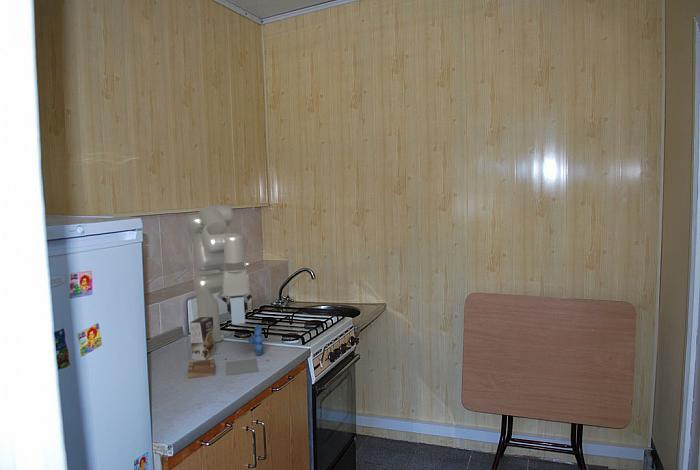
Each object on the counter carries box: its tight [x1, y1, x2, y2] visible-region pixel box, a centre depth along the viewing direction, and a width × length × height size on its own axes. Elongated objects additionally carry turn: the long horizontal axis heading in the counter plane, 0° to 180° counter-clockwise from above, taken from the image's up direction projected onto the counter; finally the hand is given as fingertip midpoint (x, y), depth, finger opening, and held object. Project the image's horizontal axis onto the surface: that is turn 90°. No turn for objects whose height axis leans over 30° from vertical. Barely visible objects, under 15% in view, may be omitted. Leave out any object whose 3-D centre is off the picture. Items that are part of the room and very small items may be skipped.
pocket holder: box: [187, 358, 216, 380], centre depth 185 cm, size 10×10×3 cm
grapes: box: [248, 324, 265, 356], centre depth 204 cm, size 12×7×12 cm, turn 12°
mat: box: [225, 357, 259, 377], centre depth 189 cm, size 14×12×1 cm
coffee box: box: [189, 317, 216, 361], centre depth 203 cm, size 9×6×16 cm
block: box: [230, 295, 246, 325], centre depth 187 cm, size 5×5×10 cm
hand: (237, 312), depth 187 cm, fingers closed on block, 5 cm apart
